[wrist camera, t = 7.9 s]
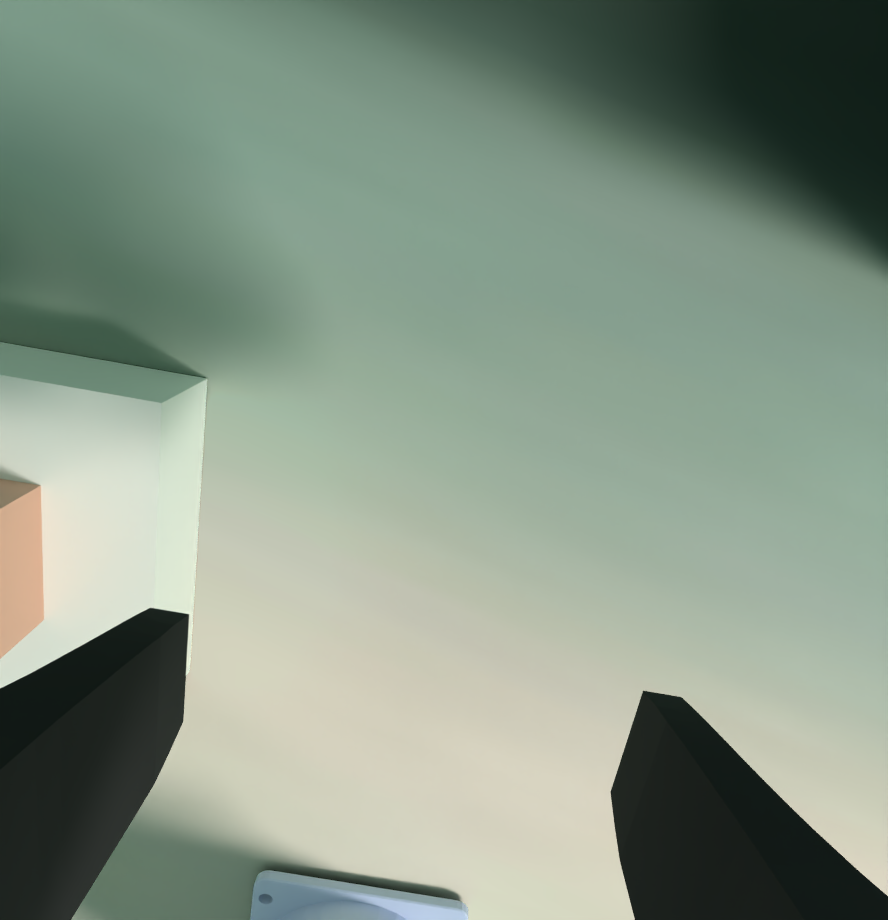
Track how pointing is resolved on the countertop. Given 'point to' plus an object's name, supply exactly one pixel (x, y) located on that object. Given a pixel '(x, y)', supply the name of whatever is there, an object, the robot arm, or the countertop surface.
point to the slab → (103, 491)
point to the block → (20, 562)
